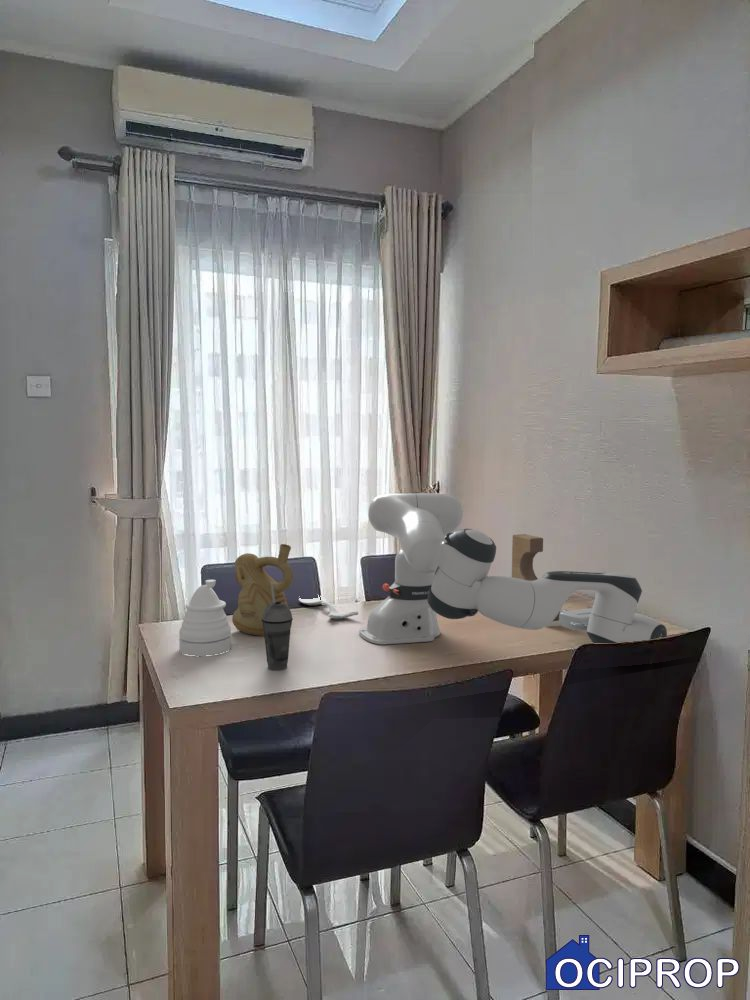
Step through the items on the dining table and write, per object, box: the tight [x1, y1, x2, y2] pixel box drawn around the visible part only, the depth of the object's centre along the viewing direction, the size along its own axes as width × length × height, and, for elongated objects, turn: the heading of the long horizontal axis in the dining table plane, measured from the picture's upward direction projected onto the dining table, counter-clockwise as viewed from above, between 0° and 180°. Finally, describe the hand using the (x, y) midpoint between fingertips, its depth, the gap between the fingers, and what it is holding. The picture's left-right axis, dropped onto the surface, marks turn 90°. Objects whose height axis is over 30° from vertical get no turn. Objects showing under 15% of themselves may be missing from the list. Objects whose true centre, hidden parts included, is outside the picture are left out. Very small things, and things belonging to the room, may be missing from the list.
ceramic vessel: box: [231, 543, 294, 636], centre depth 192 cm, size 17×20×25 cm
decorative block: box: [511, 533, 544, 581], centre depth 242 cm, size 11×6×20 cm, turn 23°
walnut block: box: [544, 612, 561, 628], centre depth 200 cm, size 5×5×10 cm
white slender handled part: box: [297, 594, 359, 620], centre depth 215 cm, size 9×32×4 cm, turn 26°
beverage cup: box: [262, 584, 294, 671], centre depth 161 cm, size 7×7×20 cm
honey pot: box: [178, 579, 232, 656], centre depth 175 cm, size 13×13×18 cm
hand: (575, 610), depth 189 cm, fingers open, 8 cm apart
